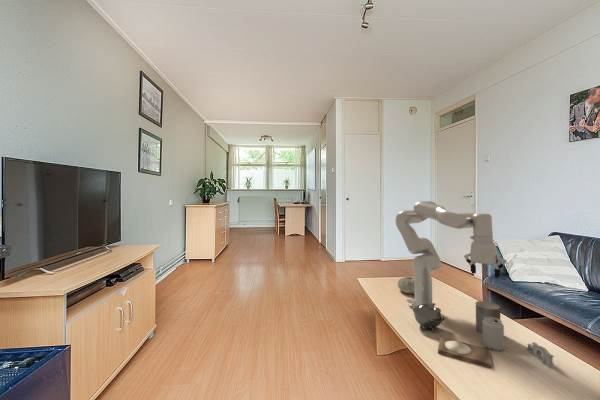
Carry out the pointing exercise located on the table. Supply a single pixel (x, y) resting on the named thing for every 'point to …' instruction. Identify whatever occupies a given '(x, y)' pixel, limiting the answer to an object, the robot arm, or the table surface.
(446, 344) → the board
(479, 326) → the pillar candle
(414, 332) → the table surface
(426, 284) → the robot arm
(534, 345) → the lattice window wall
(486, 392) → the table surface
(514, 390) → the table surface
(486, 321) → the can
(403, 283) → the decorative shell
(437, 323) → the piggy bank
